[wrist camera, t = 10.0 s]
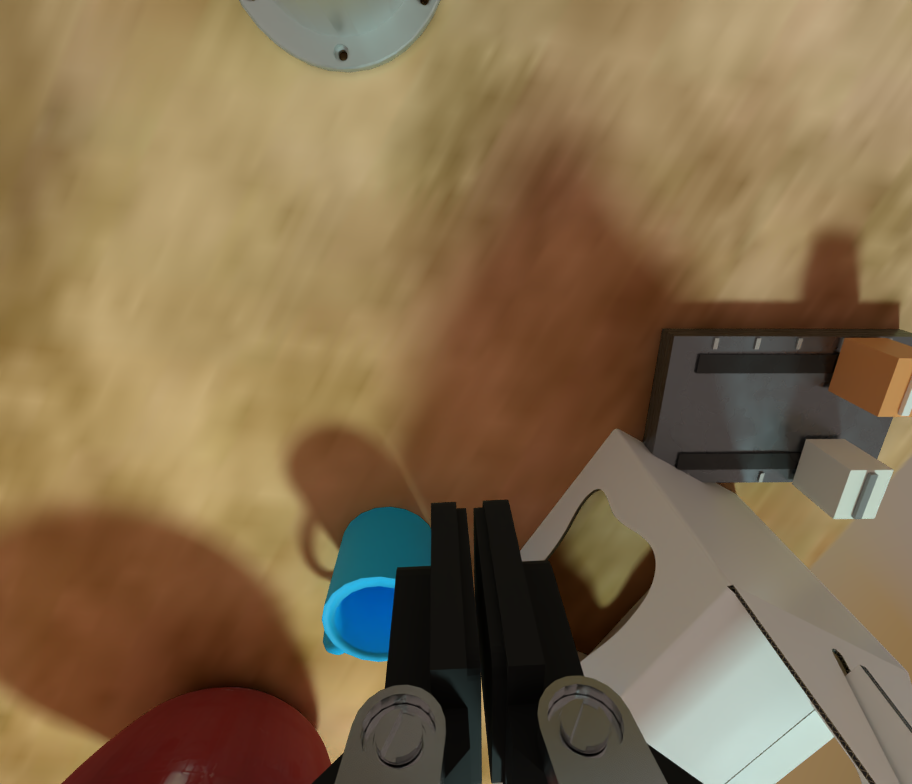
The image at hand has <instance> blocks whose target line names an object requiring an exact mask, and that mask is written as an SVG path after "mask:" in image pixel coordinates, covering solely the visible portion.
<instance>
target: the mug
mask: <svg viewBox="0 0 912 784" xmlns="http://www.w3.org/2000/svg"><path fill="white" fill-rule="evenodd" d="M414 566H431V528H430V526H429V525H428V524H427V523H426V522H425V521H424V520H423V519H422V518H421V517H420V516H418V515H416V514H414V513H412V512H410V511H408V510H406V509H400V508H395V507H382V508H374V509H372V510H369V511H366V512H364V513H361V514H360V515H359V516H358V517H356V518H355V519H354V520H352V521H351V522H350V524H349V525H348V527H347V529H346V530H345V532H344V535H343V538H342V542H341V546H340V549H339V553H338V557H337V561H336V564H335V568H334V572H333V575H332V579H331V583H330V586H329V590H328V594H327V598H326V601H325V605H324V610H323V616H322V622H323V626H324V630H325V631H324V637H323V643H324V646H325V649H326V651H327V652H329V653H332V654H336V655H341V654H343V653H346V654H349V655H352V656H354V657H357V658H359V659H362V660H370V661H377V662H381V661H388V651H389V641H390V630H391V620H392V610H393V599H394V589H395V578H396V570H397V567H414Z"/></svg>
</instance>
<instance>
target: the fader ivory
mask: <svg viewBox="0 0 912 784" xmlns="http://www.w3.org/2000/svg"><path fill="white" fill-rule="evenodd" d="M892 473H893V469H891V468H890V467H888V466H887V465H885V464H884V463H882V462H880V461H879V460H877V459H876V458H874V457H872V456H871V455H869V454H868V453H866V452H864V451H863V450H861V449H860V448H858V447H856V446H855V445H853V444H852V443H850V442H848V441H847V440H845V439H806V441H805V444H804V447H803V450H802V454H801V457H800V460H799V463H798V466H797V470H796V473H795V476H794V479H793V482H792V484H793V485H794V486H795V487H796V488H797V489H798V490H800V491H801V492H802V493H803V494H804V495H806V496H807V497H808V498H809V499H810V500H811V501H813V502H814V503H815V504H816V505H817V506H819V507H820V508H821V509H822V510H823V511H824V512H826V513H827V514H828V515H829V516H830V517H832V518H833V519H866V518H867V519H874V518H875V516H876V513H877V511H878V508H879V506H880V503H881V501H882V498H883V495H884V493H885V491H886V488H887V486H888V483H889V481H890V478H891V475H892Z"/></svg>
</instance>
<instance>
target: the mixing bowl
mask: <svg viewBox="0 0 912 784" xmlns="http://www.w3.org/2000/svg"><path fill="white" fill-rule="evenodd" d="M330 765H331V762H330V759H329V756H328V753H327V750H326V747H325V745H324V743H323V741H322V739H321V737H320V736H319V734H318V733H317V731H316V730H315V728H314V727H313V725H312V724H311V723H310V722H309V721H308V720H307V719H306V718H305V717H304V716H303V715H302V714H301V713H300V712H299V711H298V710H296V709H295V708H293V707H292V706H290V705H289V704H287V703H286V702H284V701H282V700H280V699H278V698H277V697H274V696H272V695H270V694H268V693H264V692H261V691H258V690H255V689H250V688H242V687H222V688H208V689H203V690H198V691H193V692H189V693H186V694H183V695H181V696H178V697H175V698H173V699H170V700H168V701H166V702H164V703H162V704H160V705H158V706H157V707H155V708H153V709H152V710H150V711H149V712H147V713H146V714H144V715H143V716H141V717H140V718H138V719H137V720H136V721H134V722H133V723H131V724H130V725H129V726H127V727H126V728H125V729H123V730H122V731H121V732H120V733H118V734H117V735H116V736H115V737H113V738H112V739H111V740H110V741H108V742H107V743H106V744H105V745H103V746H102V747H101V748H100V749H99V750H98V751H96V752H95V753H94V754H93V755H92V756H91V757H90V758H88V759H87V760H86V761H85V762H84V763H83V764H82V765H81V766H79V767H78V768H77V769H76V770H75V771H74V772H73V773H72V774H71V775H70V776H69V777H68V778H67V779H66V780H65V781H64V782H63V783H62V784H312V783H313V782H314V781H315V780H316V779H317V778H318V777H319V776H320V775H321V774H322V773H323V772H324V771H325V770H326V769H327V768H328V767H329V766H330Z"/></svg>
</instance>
